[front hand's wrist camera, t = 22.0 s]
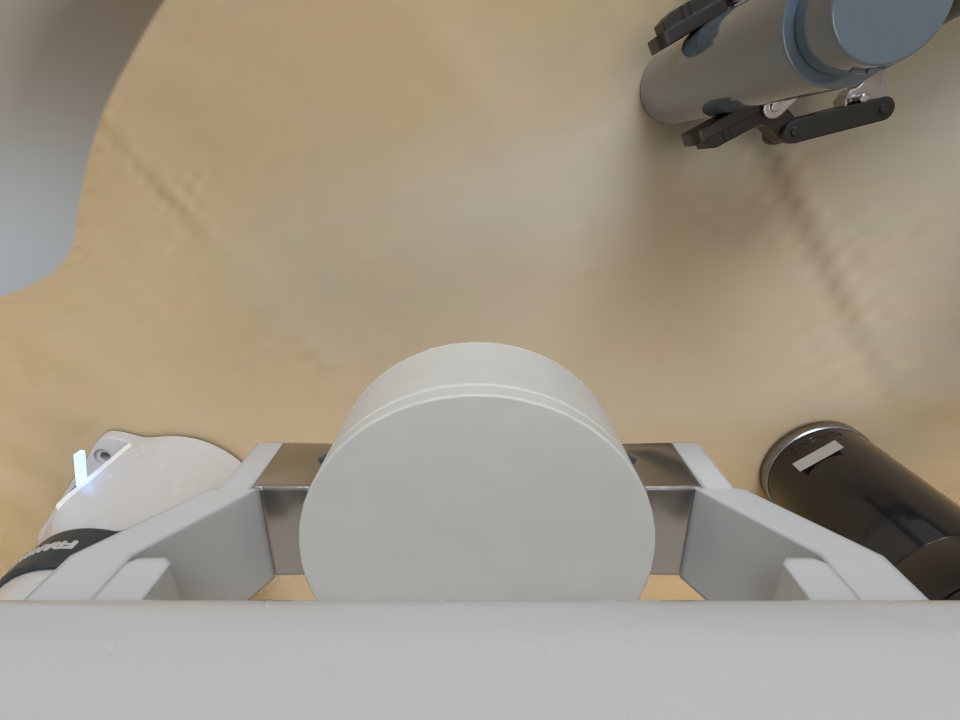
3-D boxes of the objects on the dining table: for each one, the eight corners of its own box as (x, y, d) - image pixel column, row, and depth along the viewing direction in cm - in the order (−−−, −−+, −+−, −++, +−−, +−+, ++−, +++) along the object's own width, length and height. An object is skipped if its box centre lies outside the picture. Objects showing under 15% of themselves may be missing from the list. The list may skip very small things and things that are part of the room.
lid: (290, 388, 10) (233, 455, 7) (581, 302, 9) (615, 346, 7) (396, 606, 11) (376, 710, 9) (642, 546, 11) (683, 643, 9)
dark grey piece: (720, 100, 35) (986, 28, 17) (655, 137, 36) (840, 108, 17) (695, 30, 34) (956, -135, 15) (628, 71, 34) (798, -39, 16)
